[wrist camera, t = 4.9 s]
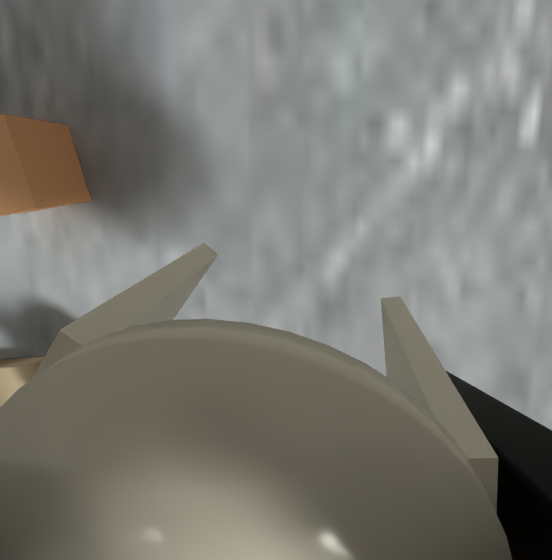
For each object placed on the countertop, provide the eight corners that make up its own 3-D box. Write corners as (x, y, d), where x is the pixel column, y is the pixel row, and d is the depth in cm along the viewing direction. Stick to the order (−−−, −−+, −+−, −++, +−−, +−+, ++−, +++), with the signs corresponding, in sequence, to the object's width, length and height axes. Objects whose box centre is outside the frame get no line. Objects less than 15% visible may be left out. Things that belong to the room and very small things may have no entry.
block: (91, 201, 20) (36, 208, 16) (31, 211, 20) (-36, 221, 17) (69, 125, 18) (3, 113, 15) (5, 139, 19) (-73, 131, 15)
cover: (408, 451, 11) (505, 770, 5) (189, 456, 12) (66, 717, 6) (395, 218, 9) (534, 306, 3) (133, 252, 10) (-123, 362, 4)
